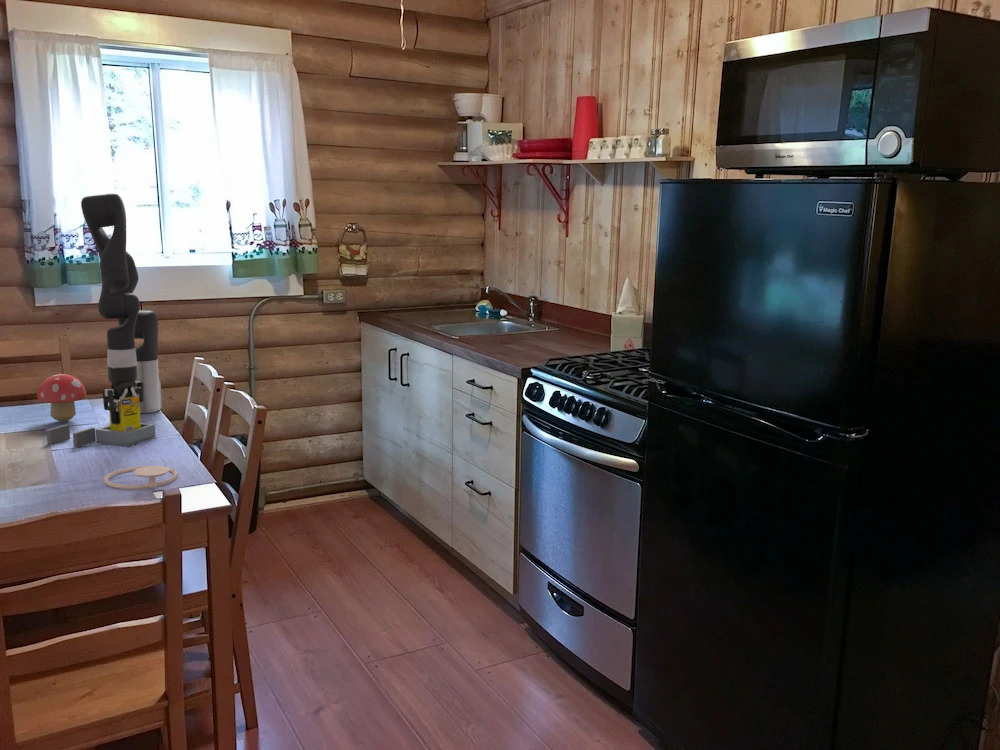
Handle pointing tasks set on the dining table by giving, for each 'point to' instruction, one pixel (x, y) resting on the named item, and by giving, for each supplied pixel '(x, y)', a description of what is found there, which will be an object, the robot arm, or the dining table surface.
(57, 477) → the dining table surface
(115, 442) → the tray
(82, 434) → the grey blocks
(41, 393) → the decorative mushroom
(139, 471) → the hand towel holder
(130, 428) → the supplement box
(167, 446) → the dining table surface
